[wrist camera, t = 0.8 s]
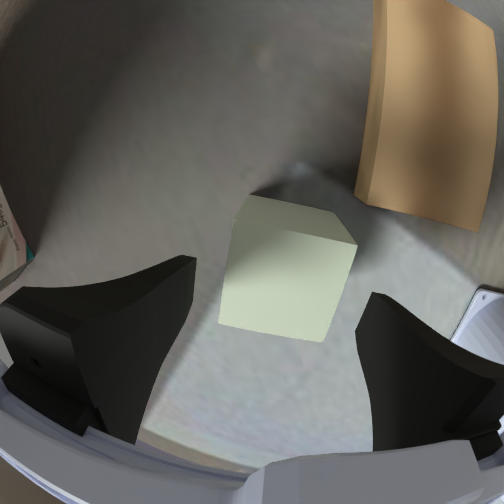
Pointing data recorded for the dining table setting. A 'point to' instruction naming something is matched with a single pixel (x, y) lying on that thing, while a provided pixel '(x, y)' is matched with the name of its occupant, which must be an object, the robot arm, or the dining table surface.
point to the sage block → (285, 269)
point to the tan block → (430, 113)
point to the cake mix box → (11, 246)
